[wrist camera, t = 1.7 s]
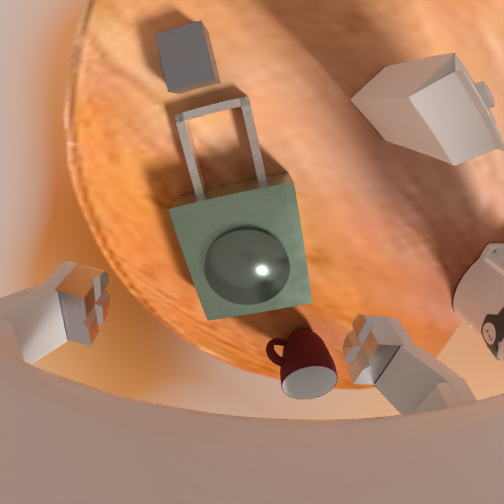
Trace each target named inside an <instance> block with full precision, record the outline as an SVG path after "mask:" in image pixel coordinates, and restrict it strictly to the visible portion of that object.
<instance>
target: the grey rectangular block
mask: <svg viewBox="0 0 504 504" xmlns="http://www.w3.org/2000/svg"><path fill="white" fill-rule="evenodd" d="M155 36H156V41H157V45H158V50H159V54H160V59H161V63H162V67H163V72H164V76H165V80H166V84H167V88H168V92H172V93H178V94H181V93H184V92H187V91H191V90H194V89H198V88H202V87H205V86H209V85H213V84H217V83H220V79H219V75H218V71H217V66H216V62H215V58H214V54H213V50H212V46H211V42H210V38H209V34H208V31H207V29H206V27H205V26H204V24H203V23H202V21H197V22H194V23H190V24H187V25H184V26H180V27H177V28H174V29H171V30H168V31H165V32H162V33H159V34H156V35H155Z"/></svg>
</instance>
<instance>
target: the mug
mask: <svg viewBox="0 0 504 504" xmlns="http://www.w3.org/2000/svg"><path fill="white" fill-rule="evenodd" d="M274 345H281V346H284V348H283V355H282V357H280V356H279V355H278V354H277V353H276V352H275V350H274ZM266 352H267V355H268V357H269V359H270V360H271V361H272V362H273V363H275V364H276V365H279V366H281V370H280V376H281V386H282V390H283V392H284V393H285V394H286V395H288V396H290V397H292V398H296V399H313V398H317V397H320V396H322V395H324V394H326V393H328V392H329V391H331V390H332V389H333V388H334V387H335V385H336V383H337V380H338V376H337V372H336V367H335V364H334V361H333V359H332V357H331V355H330V353H329V351H328V349H327V348H326V346H325V344H324V342H323V340H322V339H321V338H320V337H319V336H318V335H317V334H315V333H314V332H313V331H311V330H309V329H305V328H302V329H298V330H295V331H294V332H293V333H292V334H291V335H290V336H289V338H288V339H287V340H285V339H281V338H274V339H272V340H270V341H269V342H268V344H267V347H266Z"/></svg>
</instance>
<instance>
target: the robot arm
mask: <svg viewBox="0 0 504 504" xmlns="http://www.w3.org/2000/svg"><path fill="white" fill-rule="evenodd" d="M108 283H109V281H108V273H107V272H106V271H105V270H101V269H97V268H93V267H89V266H85V265H81V264H78V263H73V262H69V261H65V262H63V263H62V264H61V265H60V266H59V267H58V268H57V269H56V270H55V271H54V272H53V273H52V274H51V276H49V277H48V278H47V280H46V281H45V282H44V283H43V284H42V285H41V286H39V285H35V286H33V287H30V288H27V289H24V290H22V291H19V292H16V293H13V294H10V295H8V296H5V297H2V298H0V504H504V394H501V395H497V396H494V397H490V398H487V399H483V400H479V401H477V400H476V398H475V396H474V395H473V393H472V391H471V390H470V388H469V387H468V385H467V383H466V382H465V380H464V379H463V378H462V377H460V376H459V375H458V374H456V373H455V372H453V371H452V370H451V369H449V368H448V367H446V366H445V365H444V364H442V363H441V362H439V361H438V360H437V359H435V358H434V357H433V356H431V355H430V354H428V353H427V352H426V351H424V350H423V349H421V348H420V347H419V346H415V345H414V343H413V342H412V340H411V338H410V337H409V335H408V334H407V332H406V330H405V329H404V327H403V326H402V324H401V323H400V321H399V319H397V318H396V317H385V316H383V317H382V316H371V315H360V314H359V315H358V316H357V317H356V318H355V320H354V322H353V328H354V329H353V330H352V331H350V332H349V333H348V334H347V335H346V338H345V340H344V343H343V356H344V359H345V360H346V361H347V362H348V363H349V364H350V367H349V369H348V370H349V373H350V376H351V378H352V381H353V384H375V385H374V386H375V387H376V388H377V389H378V390H379V391H380V392H381V393H382V394H383V395H384V396H385V397H386V399H387V400H388V401H389V402H390V403H391V404H392V405H393V406H394V407H395V408H396V409H397V410H398V411H399V412H400V414H401V415H396V416H386V417H375V418H363V419H342V420H288V419H268V418H254V417H242V416H232V415H224V414H216V413H215V414H214V413H208V412H202V411H195V410H189V409H183V408H177V407H172V406H167V405H162V404H157V403H152V402H148V401H144V400H139V399H135V398H131V397H127V396H123V395H119V394H115V393H112V392H108V391H105V390H101V389H98V388H95V387H92V386H88V385H85V384H82V383H79V382H76V381H73V380H70V379H68V378H65V377H62V376H59V375H56V374H54V373H51V372H49V371H46V370H43V369H41V368H38V367H36V366H34V365H32V364H33V363H35V362H36V361H38V360H39V359H41V358H42V357H44V356H45V355H47V354H48V353H50V352H51V351H53V350H55V349H56V348H58V347H59V346H61V345H62V344H64V343H65V342H67V340H71V341H75V342H78V343H82V344H86V345H89V346H92V344H93V342H94V340H95V338H96V336H97V334H98V332H99V330H98V325H100V324H102V323H104V321H105V319H106V317H107V314H108V310H109V294H108V292H107V291H106V289H105V288H106V287H107V285H108ZM453 308H454V312H455V313H456V315H457V316H458V317H460V318H461V319H463V320H464V321H466V322H467V324H468V325H469V326H470V327H472V328H473V329H474V330H475V331H476V332H477V333H478V334H479V335H480V336H481V337H482V338H483V339H484V340H485V342H486V345H487V347H488V348H489V349H490V351H491V352H492V354H493V355H494V356H495V357H496V359H497V360H500V361H501V362H502V364H503V365H504V243H490V244H488V245H487V246H486V247H485V248H484V250H483V252H482V254H481V255H480V257H479V258H478V260H477V261H476V262H475V263H474V264H473V265H472V266H471V267H470V268H469V269H468V270H467V272H466V273H465V274H464V276H463V277H462V279H461V281H460V283H459V285H458V287H457V289H456V292H455V295H454V300H453Z"/></svg>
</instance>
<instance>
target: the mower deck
mask: <svg viewBox="0 0 504 504" xmlns="http://www.w3.org/2000/svg"><path fill="white" fill-rule="evenodd" d="M238 107H241V108H242V113H243V117H244V121H245V126H246V130H247V134H248V139H249V143H250V147H251V152H252V156H253V161H254V165H255V170H256V174H257V178H256V179H251V180H247V181H242V182H237V183H233V184H228V185H224V186H219V187H215V188H210V189H206V186H205V182H204V179H203V175H202V171H201V168H200V164H199V160H198V156H197V152H196V149H195V145H194V141H193V137H192V133H191V129H190V126H189V122H188V120H190V119H194V118H197V117H201V116H205V115H209V114H212V113H216V112H221V111H225V110H229V109H233V108H238ZM174 117H175V121H176V125H177V129H178V132H179V136H180V140H181V144H182V147H183V151H184V155H185V159H186V162H187V166H188V170H189V173H190V177H191V180H192V184H193V187H194V191H195V192H194V193H190V194H186V195H182V196H178V197H177V199H176V200H175V201H174V202H173V204H172V205H171V206H170V207H169V209H168V211H169V214H170V217H171V220H172V223H173V226H174V229H175V232H176V235H177V238H178V241H179V244H180V247H181V249H182V252H183V255H184V258H185V261H186V264H187V266H188V269H189V272H190V275H191V278H192V280H193V283H194V286H195V288H196V291H197V294H198V296H199V299H200V302H201V304H202V307H203V310H204V312H205V315H206V317H207V320H214V319H221V318H228V317H234V316H241V315H247V314H253V313H259V312H265V311H271V310H277V309H282V308H288V307H293V306H298V305H304V304H309V303H312V299H311V291H310V284H309V276H308V269H307V262H306V255H305V249H304V242H303V235H302V229H301V223H300V217H299V211H298V205H297V199H296V193H295V188H294V182H293V180H292V178H291V176H290V175H289V173H288V172H287V173H282V174H276V175H271V176H266V174H265V169H264V165H263V160H262V155H261V151H260V146H259V142H258V137H257V133H256V128H255V124H254V119H253V115H252V111H251V106H250V102H249V98H248V96H246V97H241V98H237V99H232V100H228V101H224V102H219V103H215V104H211V105H208V106H204V107H200V108H196V109H193V110H189V111H186V112H182V113H179V114H176V115H174Z"/></svg>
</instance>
